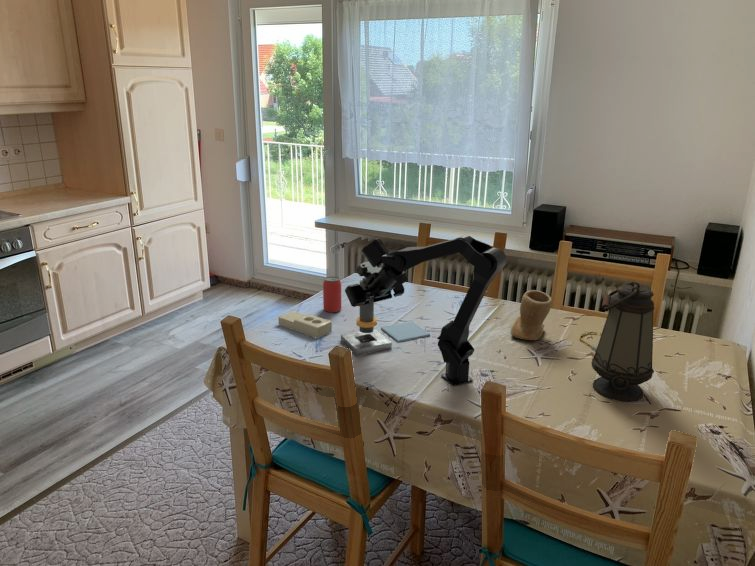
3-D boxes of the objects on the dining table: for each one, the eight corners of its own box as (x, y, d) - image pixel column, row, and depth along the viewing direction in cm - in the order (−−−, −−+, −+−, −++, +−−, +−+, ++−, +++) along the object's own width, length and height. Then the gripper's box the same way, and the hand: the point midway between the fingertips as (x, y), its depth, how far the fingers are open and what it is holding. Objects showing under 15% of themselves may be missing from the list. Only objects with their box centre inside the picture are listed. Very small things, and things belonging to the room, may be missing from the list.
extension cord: (574, 350, 172) (575, 344, 171) (581, 332, 185) (582, 327, 185) (616, 358, 167) (617, 353, 166) (620, 340, 180) (621, 334, 179)
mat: (430, 335, 180) (430, 333, 179) (398, 342, 174) (398, 340, 174) (411, 322, 190) (411, 321, 189) (380, 328, 184) (380, 327, 184)
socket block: (391, 348, 170) (391, 342, 169) (356, 355, 165) (356, 349, 164) (374, 333, 180) (374, 328, 179) (340, 340, 175) (340, 334, 174)
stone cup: (543, 346, 173) (549, 302, 168) (506, 339, 178) (510, 295, 173) (551, 329, 186) (557, 287, 181) (516, 323, 191) (521, 282, 186)
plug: (380, 332, 170) (381, 280, 164) (361, 335, 167) (361, 283, 161) (371, 324, 175) (371, 274, 170) (352, 328, 172) (352, 277, 167)
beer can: (340, 313, 197) (340, 281, 193) (322, 312, 197) (321, 281, 193) (342, 306, 203) (341, 276, 199) (324, 306, 203) (323, 275, 200)
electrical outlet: (293, 308, 191) (332, 321, 181) (293, 319, 192) (332, 332, 182) (278, 314, 185) (317, 327, 175) (278, 325, 187) (317, 339, 176)
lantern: (649, 413, 137) (671, 301, 127) (585, 399, 143) (601, 290, 133) (649, 381, 153) (669, 279, 143) (591, 369, 159) (606, 270, 149)
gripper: (399, 250, 165) (377, 276, 177) (348, 259, 155) (328, 286, 167) (415, 281, 162) (392, 305, 174) (363, 293, 151) (342, 318, 163)
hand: (364, 303), depth 169 cm, fingers closed on plug, 4 cm apart
